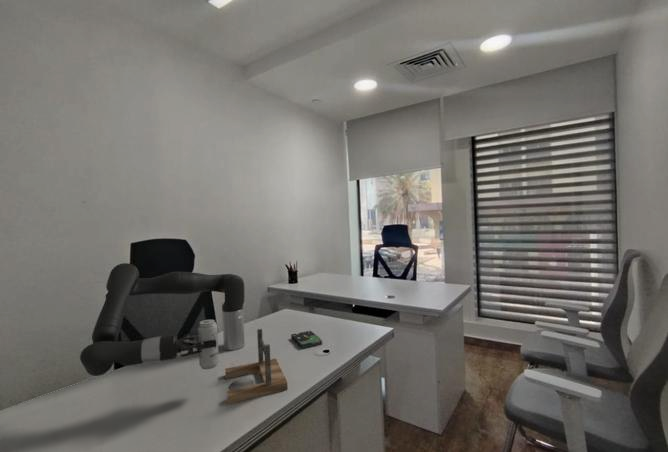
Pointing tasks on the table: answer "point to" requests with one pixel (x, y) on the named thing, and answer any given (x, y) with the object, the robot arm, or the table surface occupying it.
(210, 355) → the energy drink can
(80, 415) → the table surface
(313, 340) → the disk drive
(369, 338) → the table surface
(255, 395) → the wooden crossbar stand
